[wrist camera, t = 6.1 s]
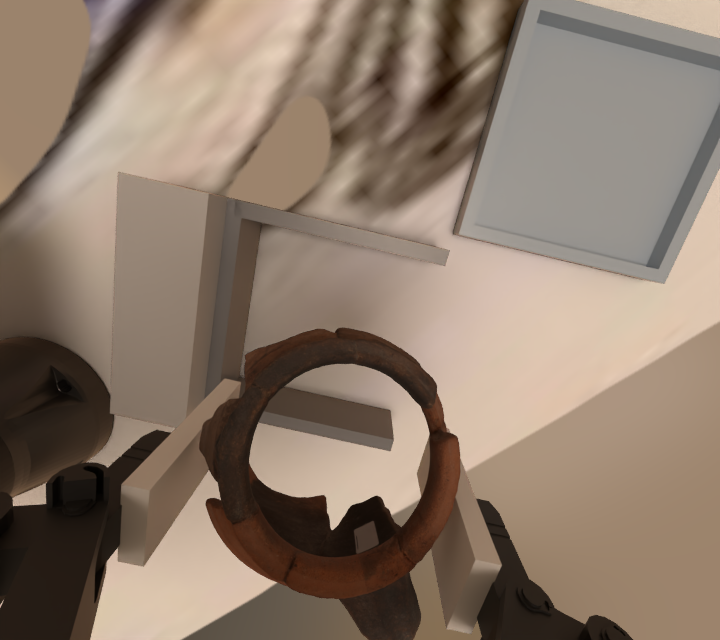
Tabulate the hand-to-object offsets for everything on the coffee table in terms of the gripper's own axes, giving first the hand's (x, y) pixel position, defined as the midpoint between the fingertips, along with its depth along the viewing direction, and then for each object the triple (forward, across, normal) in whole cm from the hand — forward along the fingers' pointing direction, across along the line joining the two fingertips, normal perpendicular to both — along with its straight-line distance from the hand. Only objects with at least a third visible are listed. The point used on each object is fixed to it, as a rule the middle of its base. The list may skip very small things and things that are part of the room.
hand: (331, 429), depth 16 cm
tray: (+17, +16, +19) cm, 30 cm away
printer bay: (+17, -6, 0) cm, 18 cm away
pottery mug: (0, 0, 0) cm, 1 cm away
